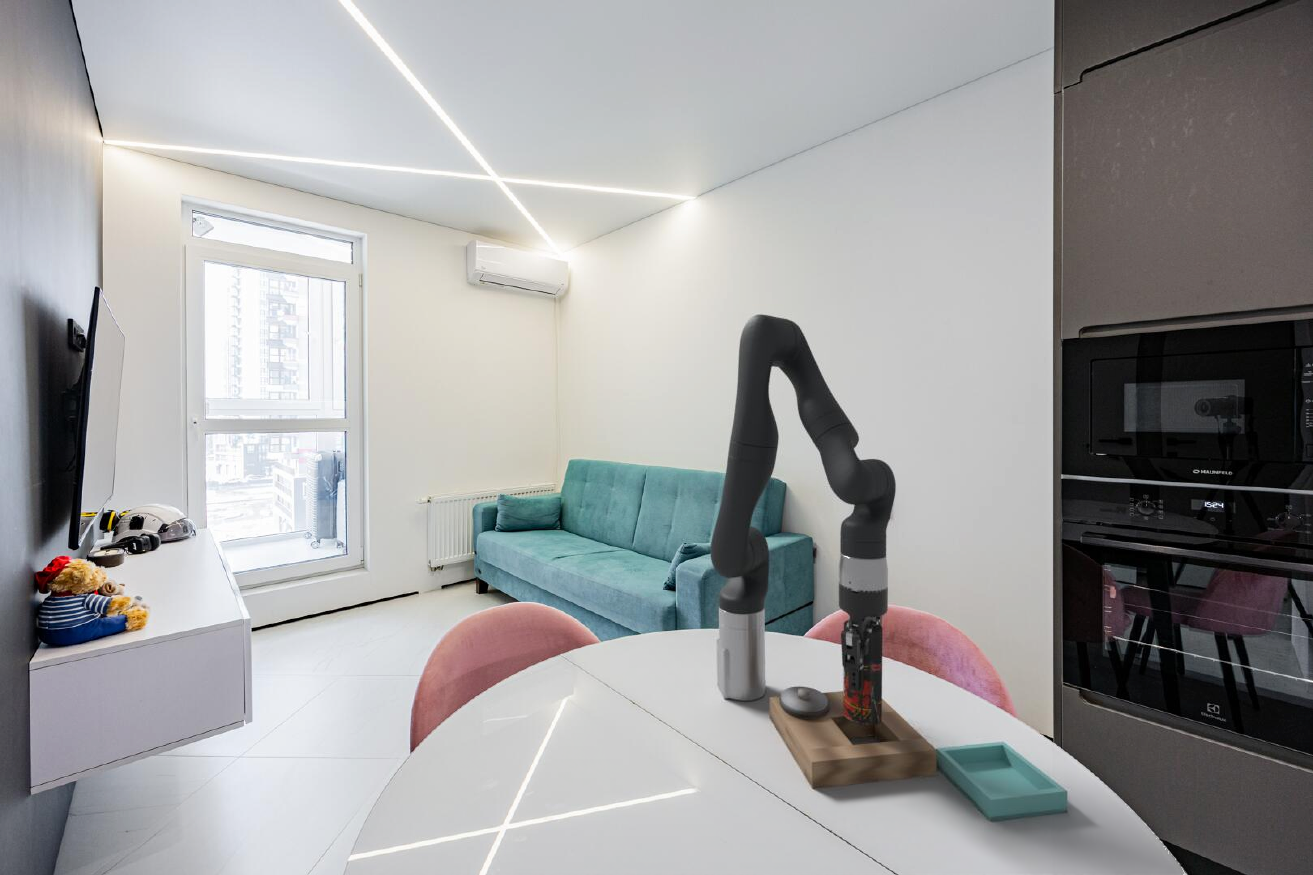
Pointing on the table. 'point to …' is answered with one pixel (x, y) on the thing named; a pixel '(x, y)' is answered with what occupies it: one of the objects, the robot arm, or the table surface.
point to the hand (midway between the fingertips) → (862, 681)
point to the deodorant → (866, 684)
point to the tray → (1001, 781)
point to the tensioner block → (847, 741)
